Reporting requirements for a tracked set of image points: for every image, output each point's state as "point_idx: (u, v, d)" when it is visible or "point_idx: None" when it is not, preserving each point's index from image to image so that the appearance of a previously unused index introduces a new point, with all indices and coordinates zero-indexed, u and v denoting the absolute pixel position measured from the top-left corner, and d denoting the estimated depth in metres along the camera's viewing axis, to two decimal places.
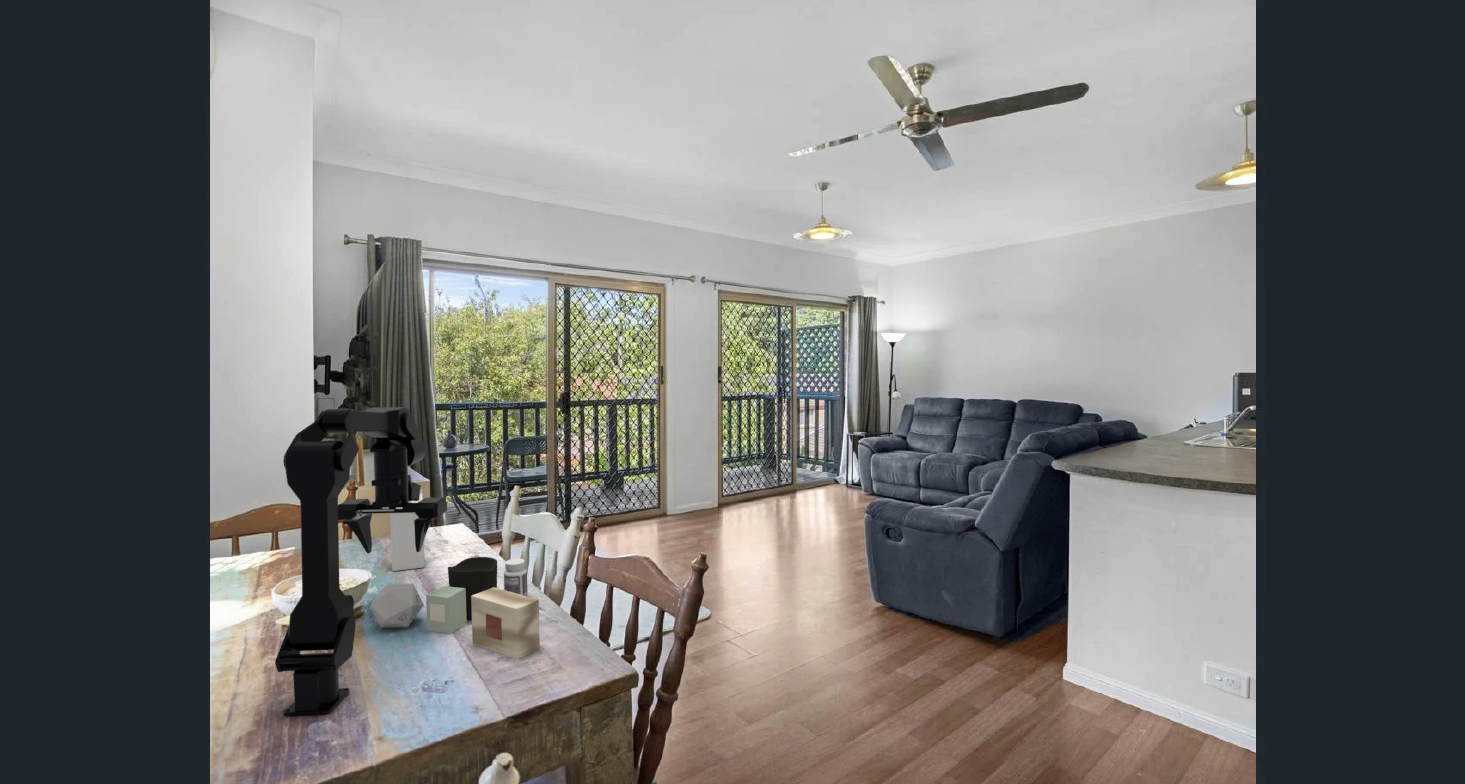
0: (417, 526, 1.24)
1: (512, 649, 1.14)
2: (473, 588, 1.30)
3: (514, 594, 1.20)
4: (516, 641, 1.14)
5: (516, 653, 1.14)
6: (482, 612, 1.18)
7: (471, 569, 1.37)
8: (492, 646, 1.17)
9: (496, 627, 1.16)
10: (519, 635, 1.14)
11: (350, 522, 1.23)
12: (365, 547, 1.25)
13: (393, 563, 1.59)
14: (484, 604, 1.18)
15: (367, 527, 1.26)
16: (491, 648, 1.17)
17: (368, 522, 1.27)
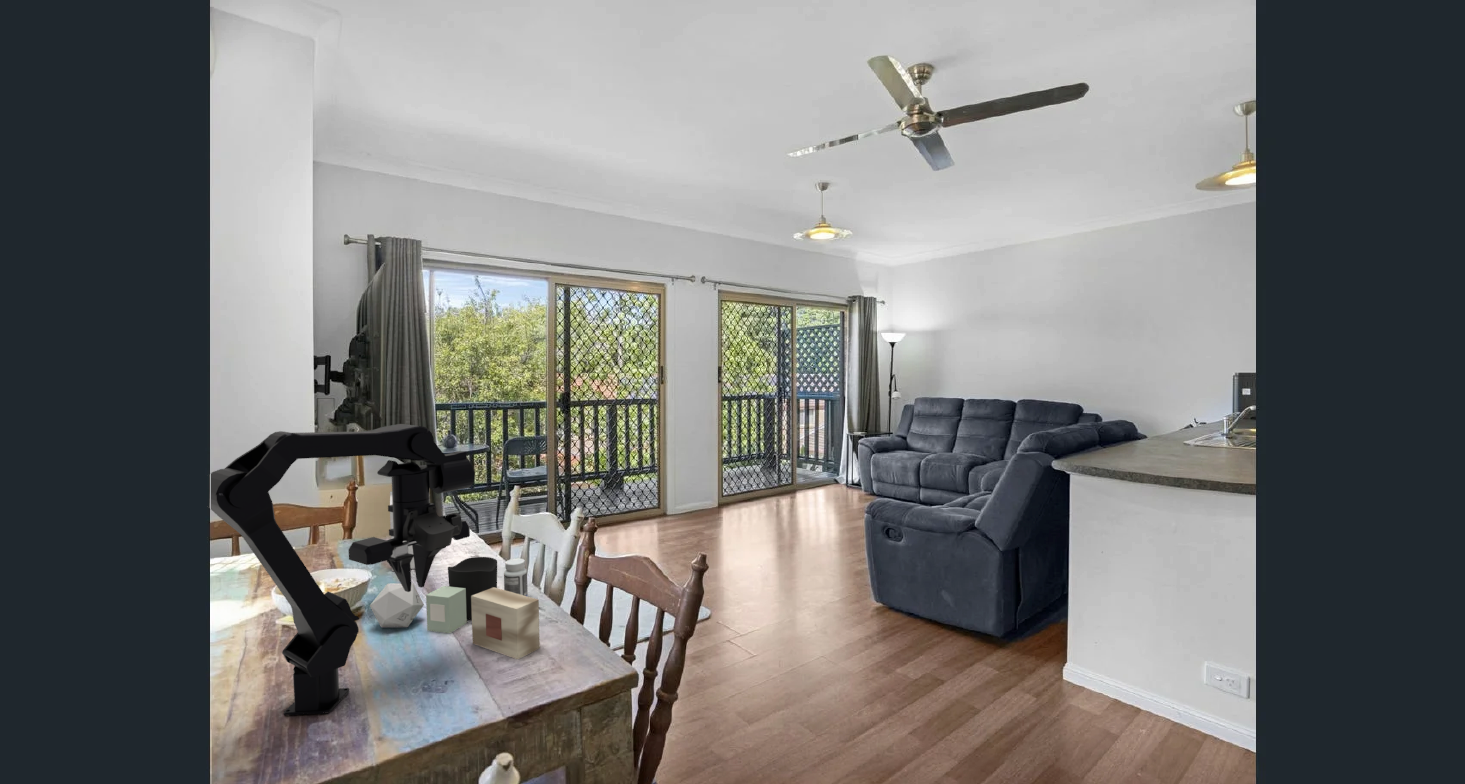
0: None
1: (512, 649, 1.14)
2: (473, 588, 1.30)
3: (514, 594, 1.20)
4: (516, 641, 1.14)
5: (516, 653, 1.14)
6: (482, 612, 1.18)
7: (471, 569, 1.37)
8: (492, 646, 1.17)
9: (496, 627, 1.16)
10: (519, 635, 1.14)
11: None
12: None
13: None
14: (483, 604, 1.18)
15: (422, 558, 1.12)
16: (491, 648, 1.17)
17: (425, 554, 1.12)
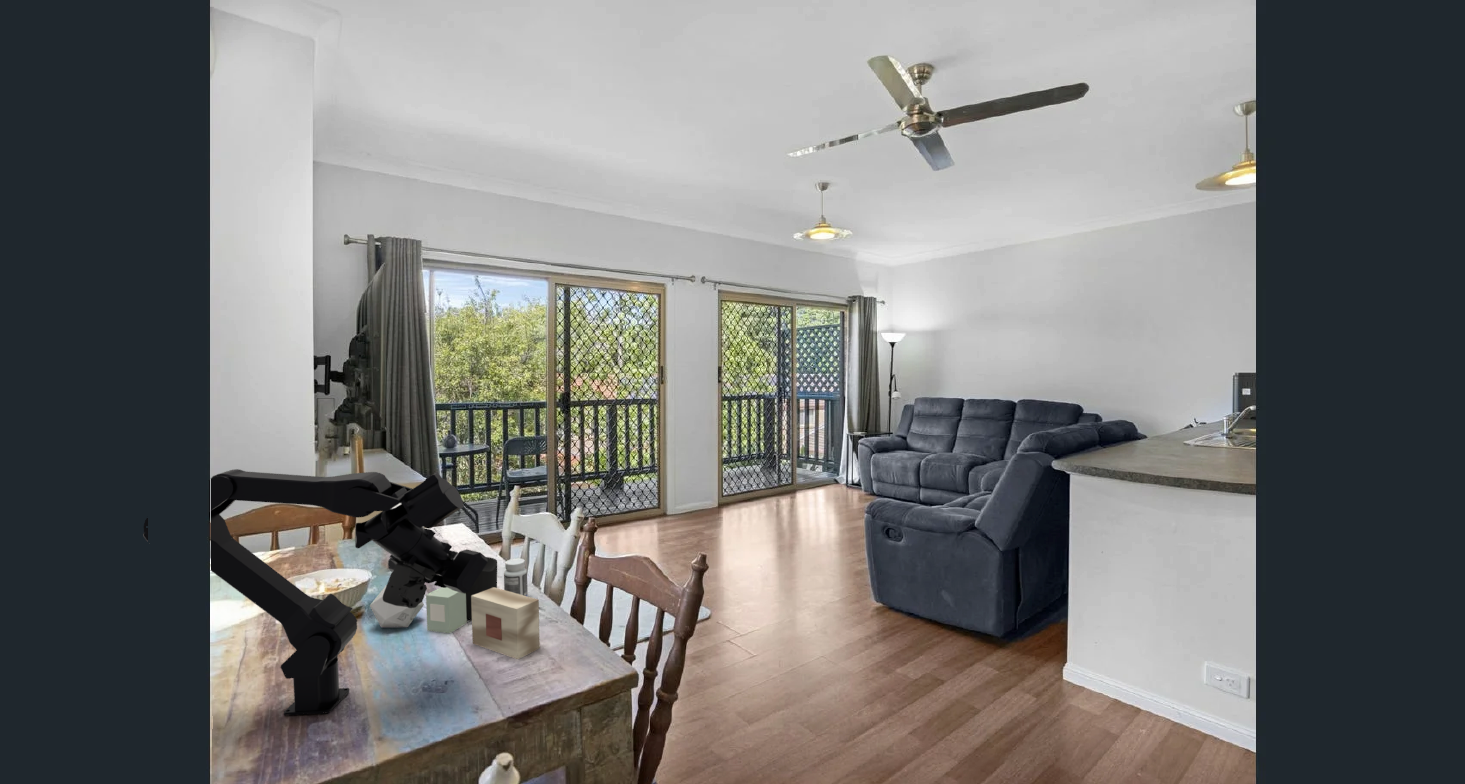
0: None
1: (512, 649, 1.14)
2: (473, 588, 1.30)
3: (514, 594, 1.20)
4: (516, 641, 1.14)
5: (516, 653, 1.14)
6: (482, 612, 1.18)
7: None
8: (492, 646, 1.17)
9: (496, 627, 1.16)
10: (519, 635, 1.14)
11: None
12: None
13: None
14: (484, 604, 1.18)
15: None
16: (491, 648, 1.17)
17: None
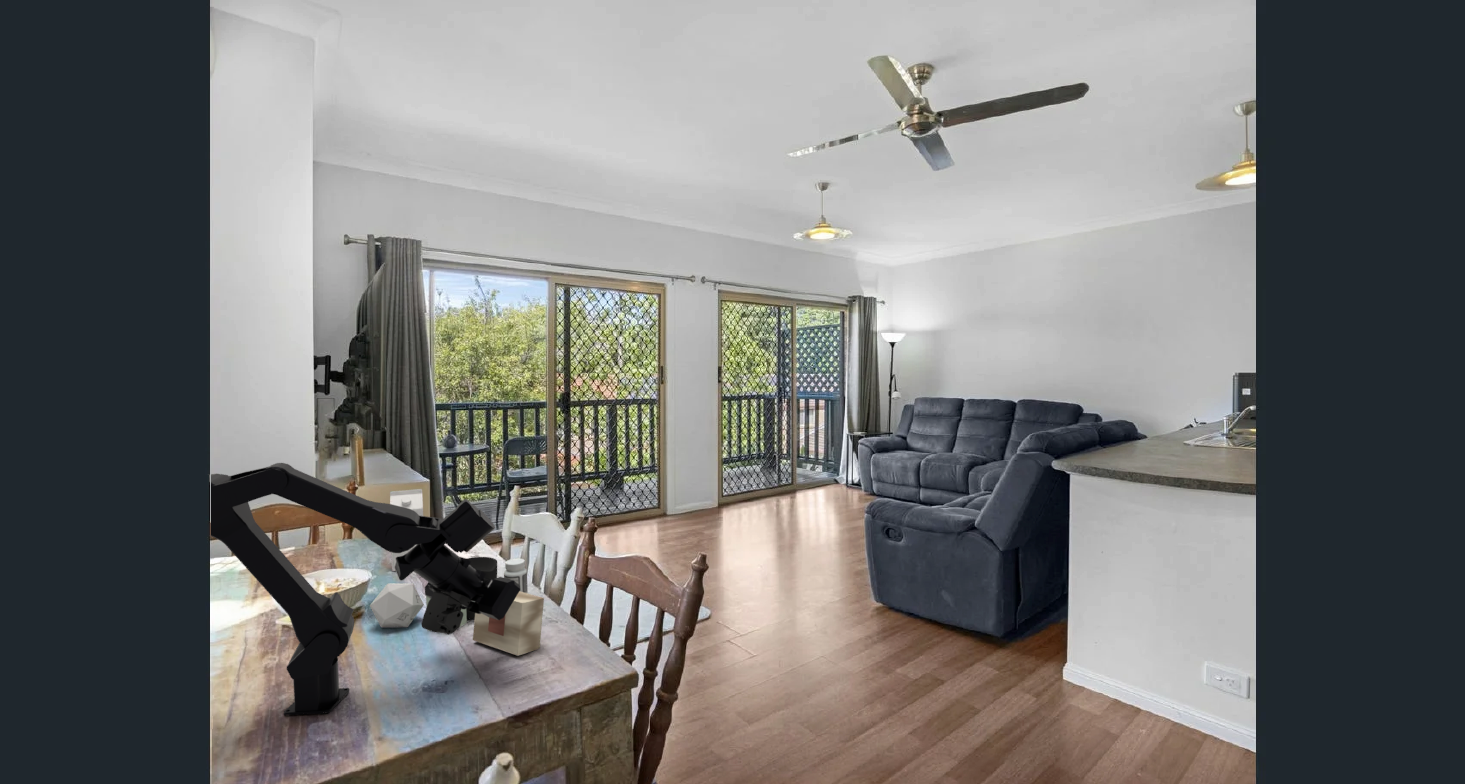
0: None
1: (513, 645, 1.15)
2: None
3: (519, 592, 1.21)
4: (518, 636, 1.14)
5: (517, 649, 1.14)
6: None
7: None
8: (493, 642, 1.17)
9: (499, 622, 1.17)
10: (522, 630, 1.15)
11: None
12: None
13: (393, 563, 1.59)
14: None
15: None
16: (491, 644, 1.17)
17: None
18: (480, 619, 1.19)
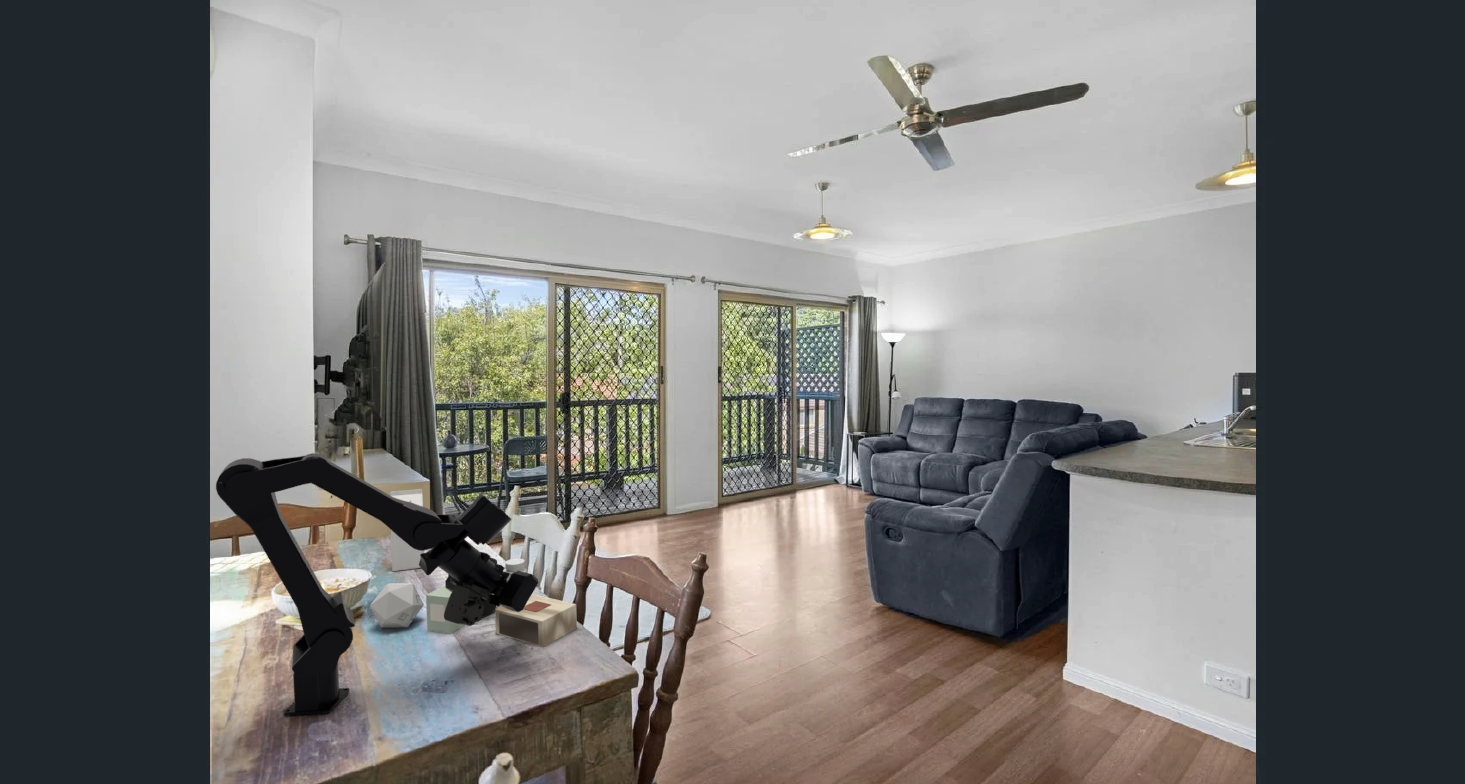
0: None
1: (542, 617, 1.20)
2: None
3: None
4: (554, 614, 1.21)
5: (545, 618, 1.19)
6: (532, 600, 1.28)
7: None
8: (519, 613, 1.22)
9: (538, 607, 1.25)
10: (558, 616, 1.22)
11: None
12: None
13: (393, 563, 1.59)
14: (540, 598, 1.30)
15: None
16: (516, 613, 1.22)
17: None
18: None
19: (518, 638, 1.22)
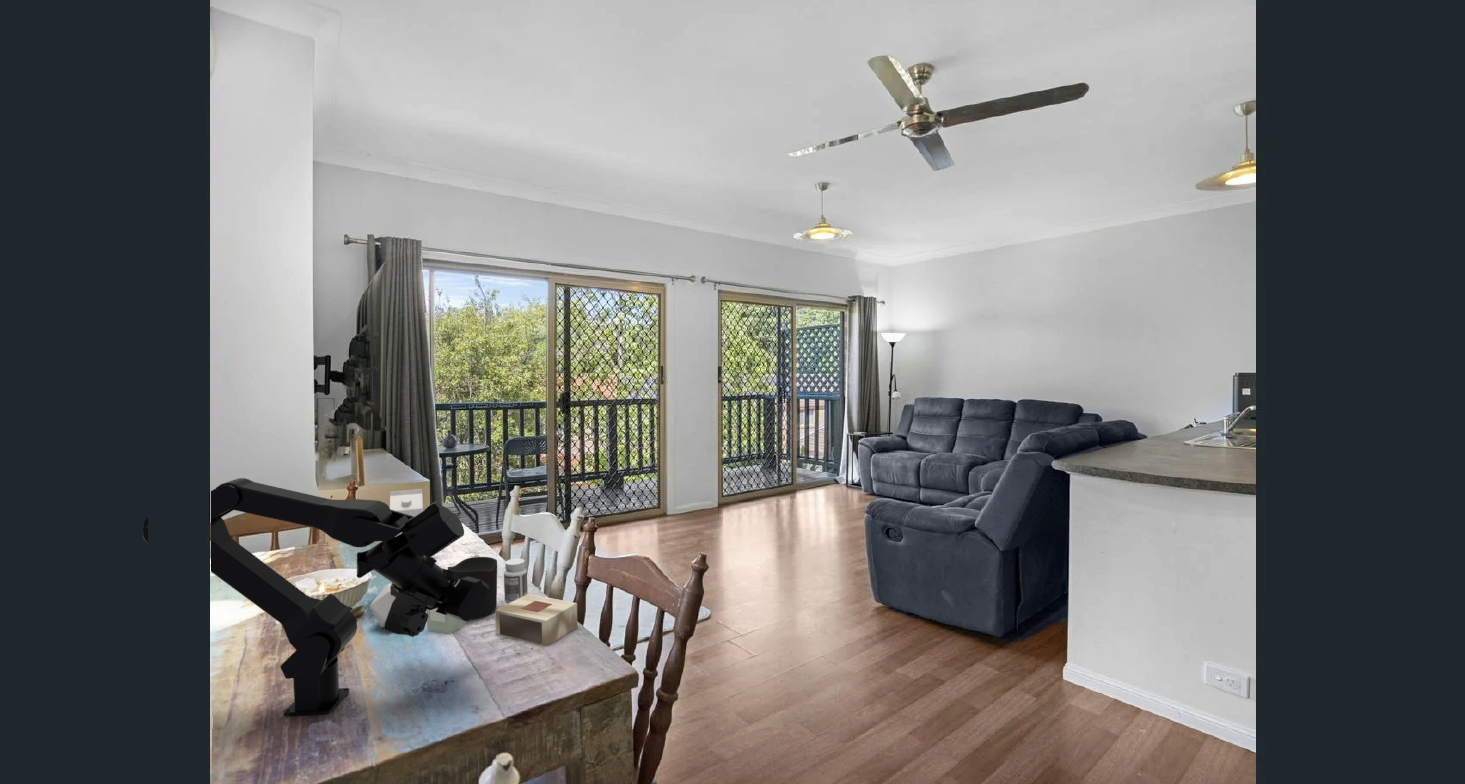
0: None
1: (545, 616, 1.21)
2: None
3: None
4: (556, 614, 1.22)
5: (548, 618, 1.20)
6: (531, 600, 1.28)
7: (471, 569, 1.37)
8: (520, 613, 1.22)
9: (539, 607, 1.25)
10: (560, 615, 1.23)
11: None
12: None
13: None
14: (538, 597, 1.30)
15: None
16: (518, 613, 1.22)
17: None
18: (516, 603, 1.27)
19: (520, 638, 1.21)
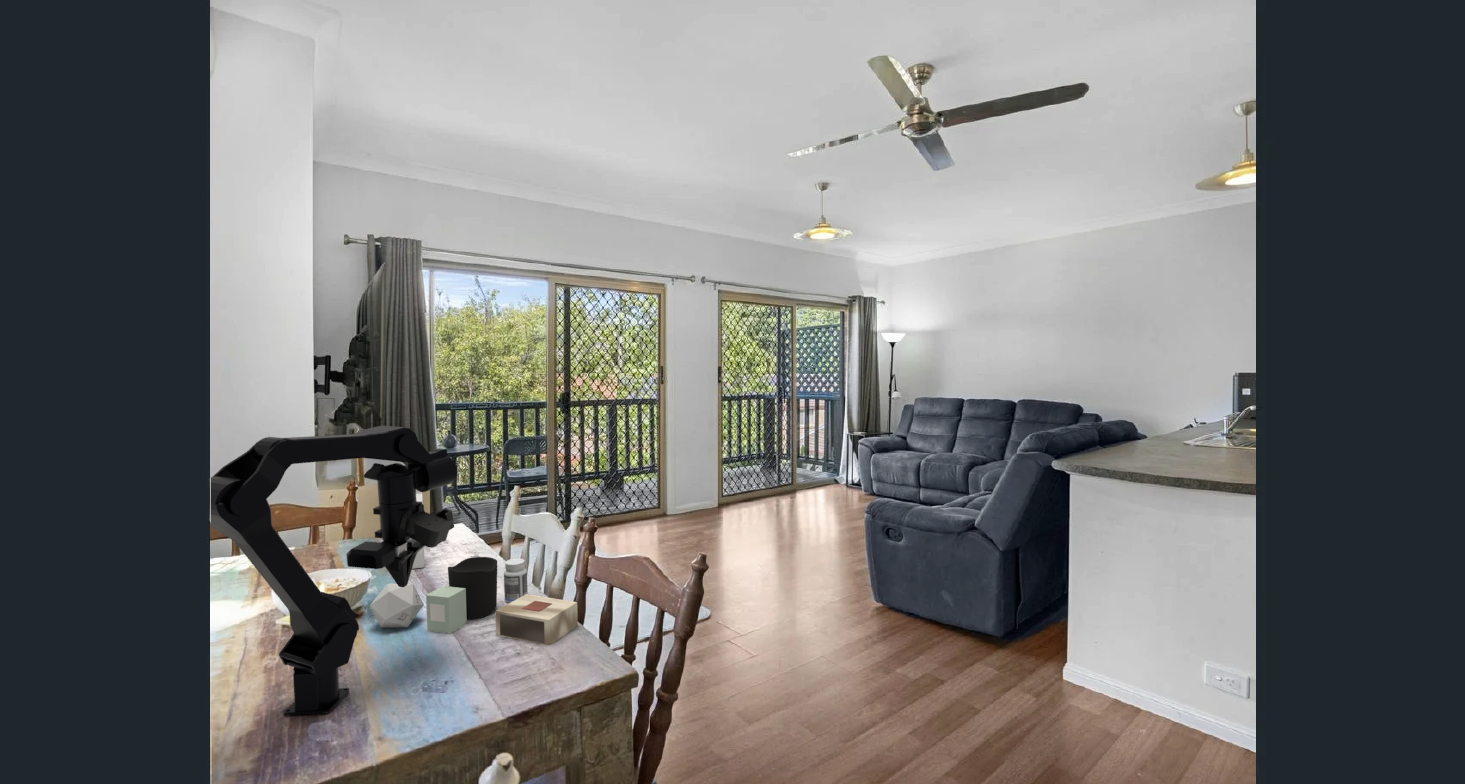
0: None
1: (547, 615, 1.21)
2: (473, 588, 1.30)
3: None
4: (558, 613, 1.22)
5: (551, 617, 1.20)
6: (530, 600, 1.28)
7: (471, 569, 1.37)
8: (522, 613, 1.22)
9: (540, 606, 1.25)
10: (562, 614, 1.23)
11: None
12: None
13: None
14: (537, 597, 1.30)
15: None
16: (519, 613, 1.22)
17: None
18: (516, 604, 1.26)
19: (521, 638, 1.21)
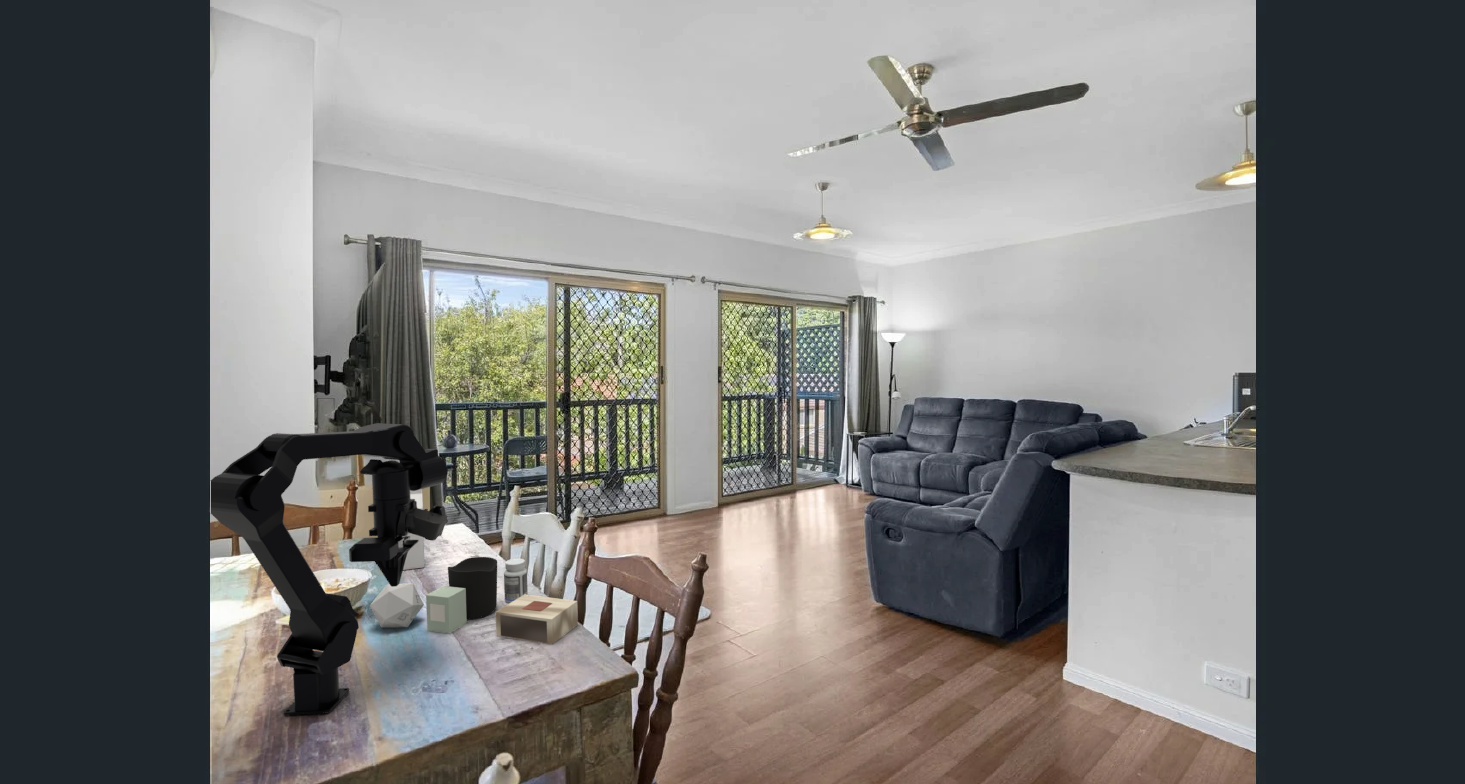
0: None
1: (549, 615, 1.21)
2: (473, 588, 1.30)
3: None
4: (560, 612, 1.22)
5: (553, 616, 1.20)
6: (530, 600, 1.28)
7: (471, 569, 1.37)
8: (523, 613, 1.22)
9: (540, 606, 1.25)
10: (563, 613, 1.23)
11: None
12: None
13: None
14: (536, 597, 1.30)
15: None
16: (520, 614, 1.22)
17: None
18: (516, 604, 1.26)
19: (523, 638, 1.21)
